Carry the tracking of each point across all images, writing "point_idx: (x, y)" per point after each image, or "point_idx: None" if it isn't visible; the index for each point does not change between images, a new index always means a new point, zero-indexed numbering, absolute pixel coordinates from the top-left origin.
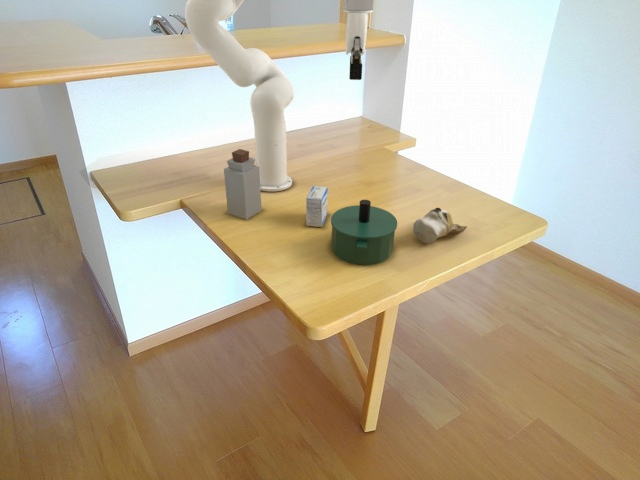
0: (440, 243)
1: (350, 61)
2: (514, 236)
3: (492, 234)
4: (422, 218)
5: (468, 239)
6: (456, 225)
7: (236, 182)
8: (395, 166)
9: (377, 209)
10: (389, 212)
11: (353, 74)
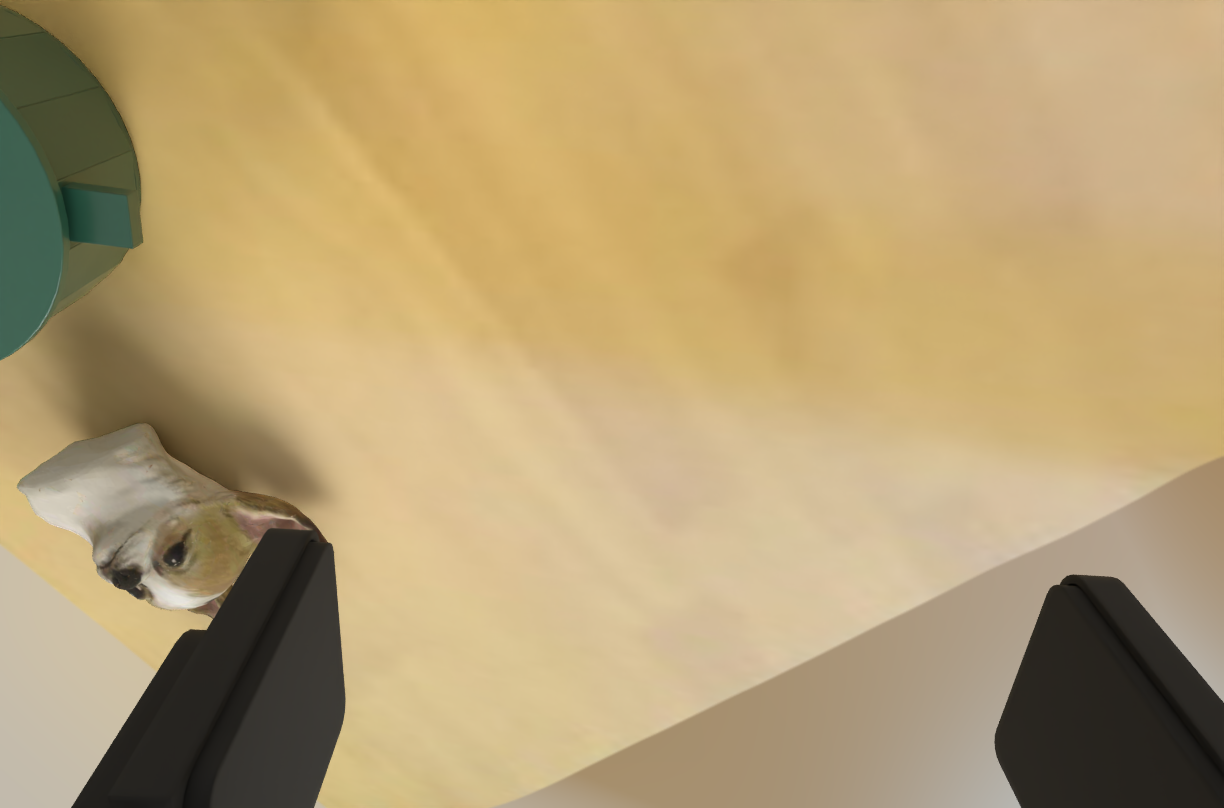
0: None
1: (1179, 745)
2: None
3: None
4: (162, 488)
5: None
6: (216, 600)
7: None
8: (1009, 449)
9: (28, 291)
10: (12, 351)
11: (174, 663)
